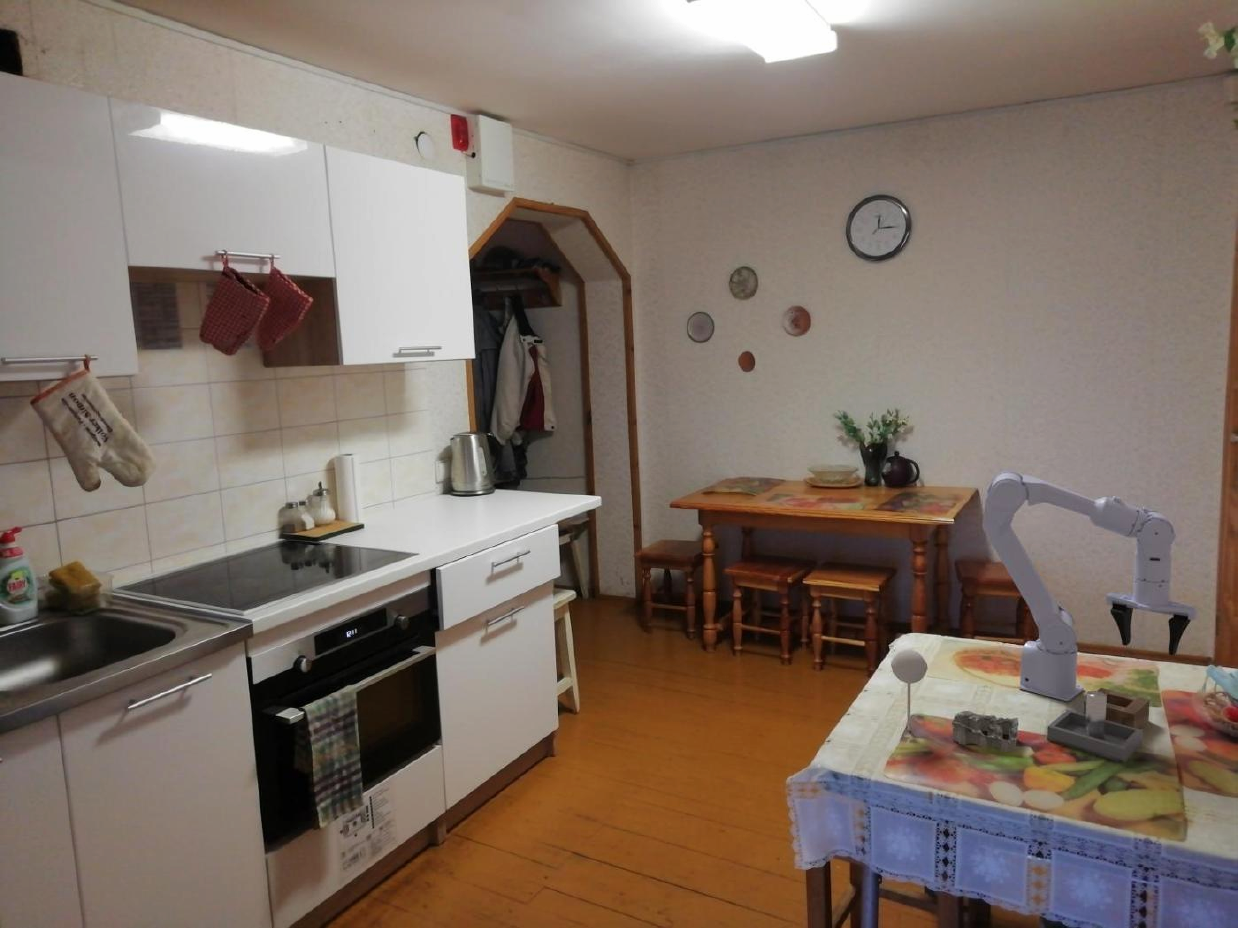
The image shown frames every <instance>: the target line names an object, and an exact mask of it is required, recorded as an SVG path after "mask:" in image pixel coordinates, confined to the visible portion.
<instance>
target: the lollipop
mask: <svg viewBox="0 0 1238 928" xmlns="http://www.w3.org/2000/svg"><path fill="white" fill-rule="evenodd" d="M890 667H891V669H892V672H893V675H894V676H895V677H896V679H898V680H899V681H900V682H903V683H905V684H907V715H906V716H907V719H906V720H907V721H906V722H907V725H906V726H907V731H908V732H910V730H911V684H915V683H918V682H920V681H921V680H922V679H924V677H925V676H926V674H927V671H928V669H929V668H928V663H927V662H926V660H925V658H924V656H922V654H920V652H918V651H915V650H913V649H903V650H902V649H901V650H900V651H898V652H897V653H896V654H895V655H894V656H893V658H892V660H891V663H890Z"/></svg>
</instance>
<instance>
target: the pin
mask: <svg viewBox="0 0 1238 928" xmlns="http://www.w3.org/2000/svg"><path fill="white" fill-rule="evenodd" d="M1085 700H1086V719H1085V735H1086V736H1089V737H1093V738H1096V739H1100V740H1103V741H1105V723H1106V703H1107V695H1106V694H1104V693H1102V692H1098V690H1090V691H1087V692H1086V699H1085Z"/></svg>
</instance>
